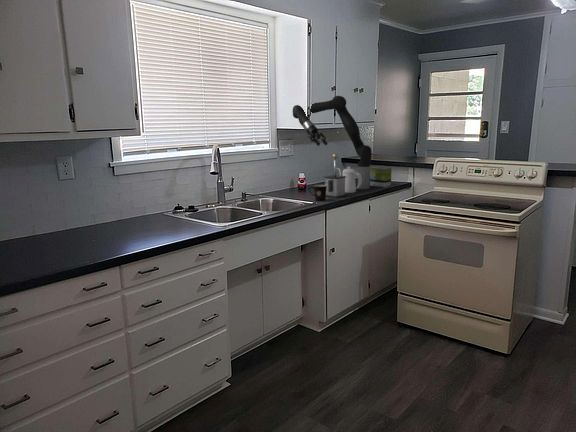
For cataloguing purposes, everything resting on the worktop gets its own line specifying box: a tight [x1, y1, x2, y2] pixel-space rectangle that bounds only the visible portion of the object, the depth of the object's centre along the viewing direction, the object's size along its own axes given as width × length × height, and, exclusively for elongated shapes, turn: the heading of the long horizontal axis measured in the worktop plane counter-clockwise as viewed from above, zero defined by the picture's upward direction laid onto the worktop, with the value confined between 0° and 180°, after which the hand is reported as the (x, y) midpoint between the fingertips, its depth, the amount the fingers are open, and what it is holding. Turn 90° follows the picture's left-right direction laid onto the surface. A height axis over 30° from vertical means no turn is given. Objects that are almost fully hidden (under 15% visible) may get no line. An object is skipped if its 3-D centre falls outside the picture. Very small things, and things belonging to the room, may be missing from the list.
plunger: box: [332, 153, 339, 177], centre depth 304 cm, size 8×8×20 cm
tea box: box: [370, 166, 393, 188], centre depth 351 cm, size 15×10×15 cm
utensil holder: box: [323, 174, 346, 199], centre depth 307 cm, size 12×11×14 cm
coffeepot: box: [336, 166, 362, 194], centre depth 324 cm, size 11×25×19 cm, turn 42°
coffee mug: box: [308, 184, 327, 202], centre depth 294 cm, size 12×9×10 cm
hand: (322, 144), depth 308 cm, fingers open, 8 cm apart
